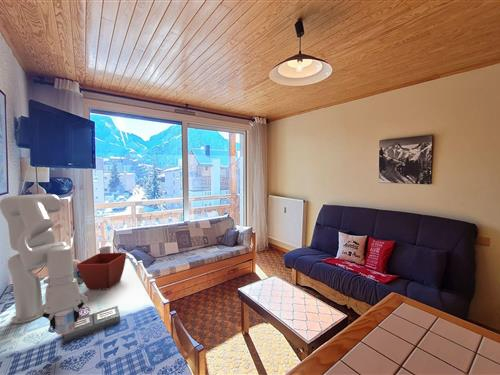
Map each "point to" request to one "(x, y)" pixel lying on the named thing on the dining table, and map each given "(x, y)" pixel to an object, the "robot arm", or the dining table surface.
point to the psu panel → (94, 322)
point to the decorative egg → (76, 271)
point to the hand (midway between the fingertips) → (65, 323)
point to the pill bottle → (64, 321)
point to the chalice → (104, 249)
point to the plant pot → (102, 270)
